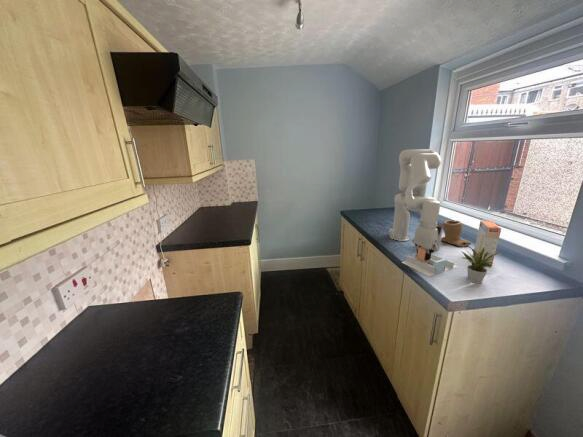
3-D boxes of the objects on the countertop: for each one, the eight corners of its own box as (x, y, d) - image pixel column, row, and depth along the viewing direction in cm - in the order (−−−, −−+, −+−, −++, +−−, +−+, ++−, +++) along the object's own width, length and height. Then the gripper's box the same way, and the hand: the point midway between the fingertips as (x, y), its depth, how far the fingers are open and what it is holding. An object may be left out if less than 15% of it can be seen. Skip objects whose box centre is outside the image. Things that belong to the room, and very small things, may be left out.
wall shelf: (401, 263, 124) (402, 251, 122) (428, 256, 133) (430, 244, 131) (428, 277, 110) (430, 264, 108) (457, 268, 119) (460, 255, 117)
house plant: (486, 274, 112) (493, 243, 108) (504, 290, 99) (513, 255, 95) (453, 271, 116) (459, 241, 111) (466, 286, 103) (473, 252, 98)
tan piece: (435, 240, 155) (439, 219, 151) (449, 238, 159) (453, 217, 155) (457, 249, 141) (461, 225, 137) (471, 246, 145) (476, 223, 141)
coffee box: (420, 249, 142) (423, 224, 138) (423, 246, 147) (426, 221, 142) (437, 253, 136) (441, 227, 132) (439, 249, 141) (443, 224, 136)
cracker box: (492, 266, 119) (502, 228, 114) (478, 264, 122) (486, 226, 116) (485, 256, 131) (493, 220, 126) (472, 254, 134) (480, 219, 128)
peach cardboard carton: (416, 261, 122) (418, 247, 120) (421, 259, 124) (423, 245, 121) (423, 264, 119) (425, 250, 116) (428, 262, 120) (430, 248, 118)
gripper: (408, 221, 121) (404, 253, 126) (439, 230, 107) (433, 266, 112) (418, 219, 124) (414, 250, 129) (449, 228, 109) (443, 263, 114)
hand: (423, 257), depth 120 cm, fingers open, 4 cm apart
